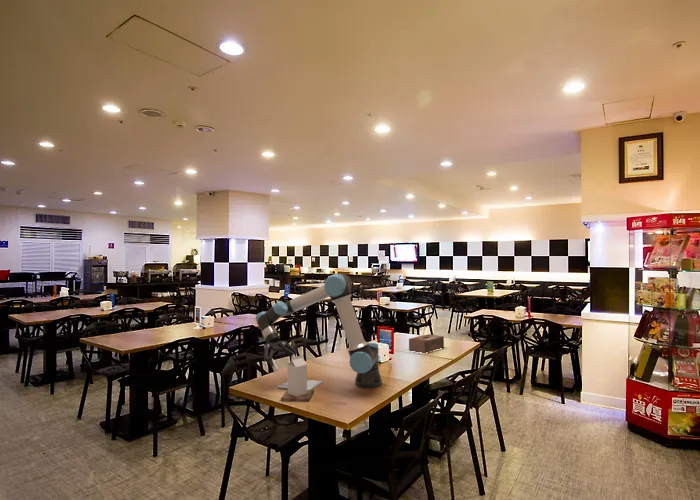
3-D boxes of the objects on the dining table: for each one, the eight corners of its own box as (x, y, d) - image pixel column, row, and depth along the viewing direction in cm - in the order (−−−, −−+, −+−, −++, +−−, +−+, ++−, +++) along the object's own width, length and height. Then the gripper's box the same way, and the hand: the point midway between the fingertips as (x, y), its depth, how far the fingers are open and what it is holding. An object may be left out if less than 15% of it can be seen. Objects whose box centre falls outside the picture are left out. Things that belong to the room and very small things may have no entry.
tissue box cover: (424, 354, 293) (424, 341, 293) (409, 351, 303) (408, 338, 303) (443, 349, 310) (443, 336, 311) (428, 346, 321) (428, 334, 321)
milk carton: (307, 393, 203) (306, 356, 203) (296, 397, 198) (295, 359, 198) (298, 390, 208) (298, 354, 208) (287, 394, 203) (287, 356, 203)
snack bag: (293, 379, 234) (293, 376, 234) (324, 383, 227) (324, 379, 227) (275, 389, 217) (275, 385, 217) (308, 393, 209) (308, 389, 209)
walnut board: (314, 392, 209) (313, 389, 209) (308, 401, 195) (308, 398, 195) (288, 392, 210) (288, 389, 210) (280, 401, 196) (280, 398, 196)
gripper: (286, 337, 231) (302, 367, 220) (249, 343, 214) (264, 377, 202) (292, 329, 228) (308, 359, 216) (254, 335, 210) (269, 368, 199)
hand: (287, 368), depth 209 cm, fingers open, 13 cm apart
